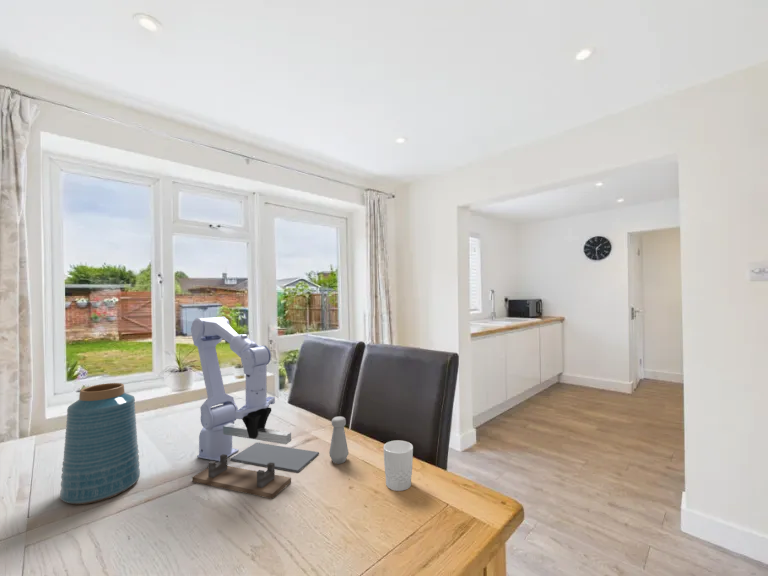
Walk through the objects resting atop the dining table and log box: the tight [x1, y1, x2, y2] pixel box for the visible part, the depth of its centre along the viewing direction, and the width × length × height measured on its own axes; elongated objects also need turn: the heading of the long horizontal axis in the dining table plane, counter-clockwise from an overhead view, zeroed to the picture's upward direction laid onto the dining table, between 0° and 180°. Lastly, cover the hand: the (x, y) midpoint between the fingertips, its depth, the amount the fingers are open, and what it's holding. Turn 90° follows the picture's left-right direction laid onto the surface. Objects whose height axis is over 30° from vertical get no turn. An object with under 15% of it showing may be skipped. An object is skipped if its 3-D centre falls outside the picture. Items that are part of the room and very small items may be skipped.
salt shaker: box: [328, 415, 349, 465], centre depth 106 cm, size 6×6×13 cm
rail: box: [223, 423, 292, 445], centre depth 101 cm, size 22×2×2 cm, turn 70°
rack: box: [191, 454, 292, 499], centre depth 95 cm, size 26×8×5 cm, turn 71°
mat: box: [230, 442, 320, 473], centre depth 109 cm, size 24×12×1 cm, turn 71°
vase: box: [59, 382, 141, 505], centre depth 92 cm, size 16×16×27 cm
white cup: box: [383, 439, 414, 492], centre depth 93 cm, size 8×8×10 cm
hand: (256, 435), depth 101 cm, fingers closed on rail, 2 cm apart
